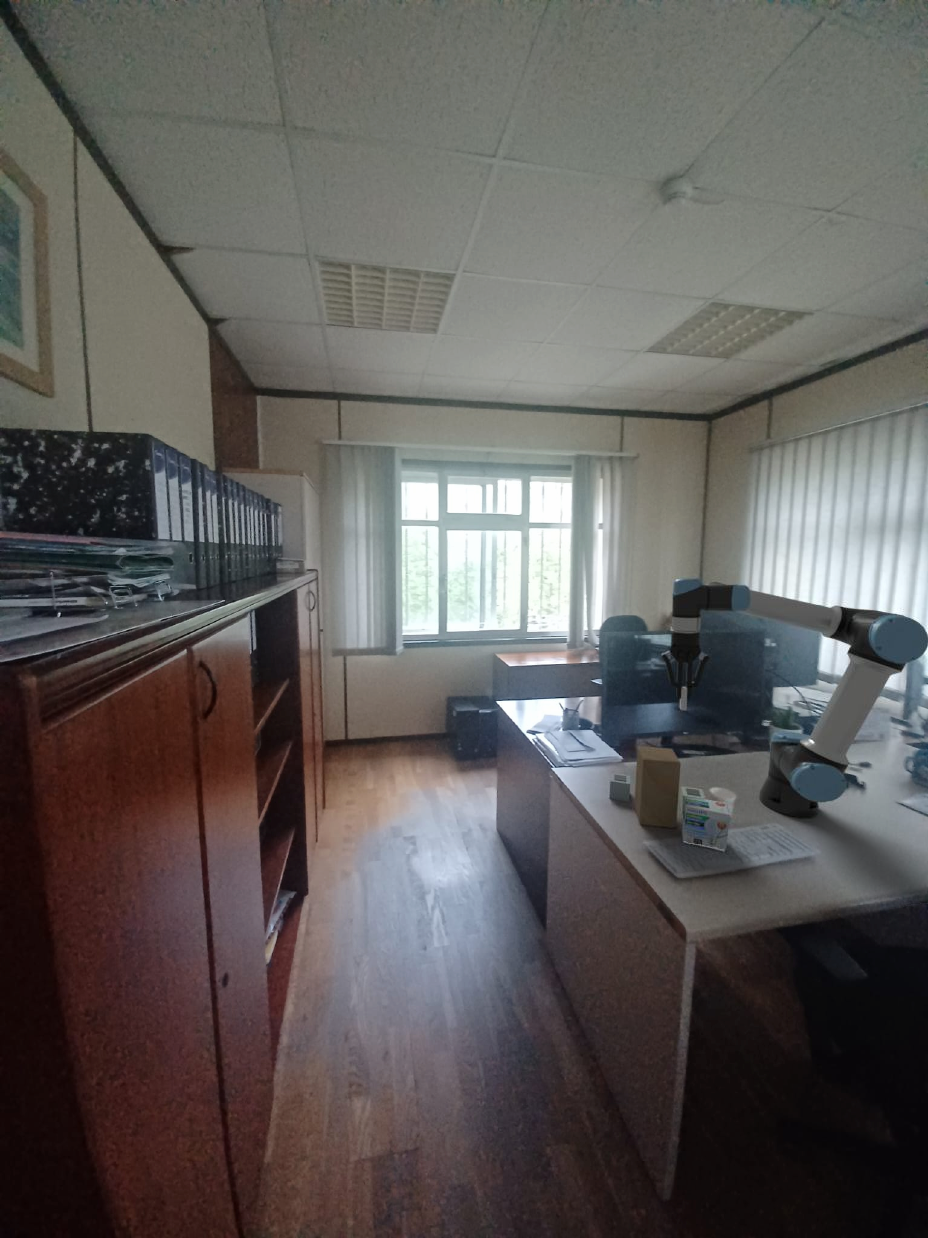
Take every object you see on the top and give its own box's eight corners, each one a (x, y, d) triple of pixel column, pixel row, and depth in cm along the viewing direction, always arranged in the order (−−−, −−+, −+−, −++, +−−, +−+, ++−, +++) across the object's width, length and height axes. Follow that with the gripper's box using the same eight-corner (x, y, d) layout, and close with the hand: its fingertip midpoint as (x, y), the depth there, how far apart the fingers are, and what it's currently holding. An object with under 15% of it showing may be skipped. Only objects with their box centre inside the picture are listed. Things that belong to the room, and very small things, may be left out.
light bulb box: (682, 844, 124) (685, 806, 123) (681, 830, 131) (683, 794, 129) (727, 853, 120) (730, 815, 119) (723, 839, 127) (727, 802, 125)
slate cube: (629, 792, 151) (630, 775, 151) (629, 802, 146) (630, 783, 145) (609, 789, 153) (610, 772, 152) (609, 798, 148) (610, 780, 147)
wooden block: (676, 829, 131) (681, 762, 128) (639, 825, 133) (643, 759, 130) (668, 810, 141) (672, 748, 138) (633, 806, 143) (637, 745, 140)
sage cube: (700, 807, 143) (702, 788, 142) (704, 818, 137) (705, 798, 136) (679, 804, 145) (681, 785, 144) (681, 814, 139) (683, 794, 138)
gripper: (707, 629, 136) (704, 706, 139) (660, 628, 140) (658, 703, 143) (713, 633, 129) (709, 714, 132) (663, 632, 133) (660, 711, 136)
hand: (682, 708), depth 138 cm, fingers closed
